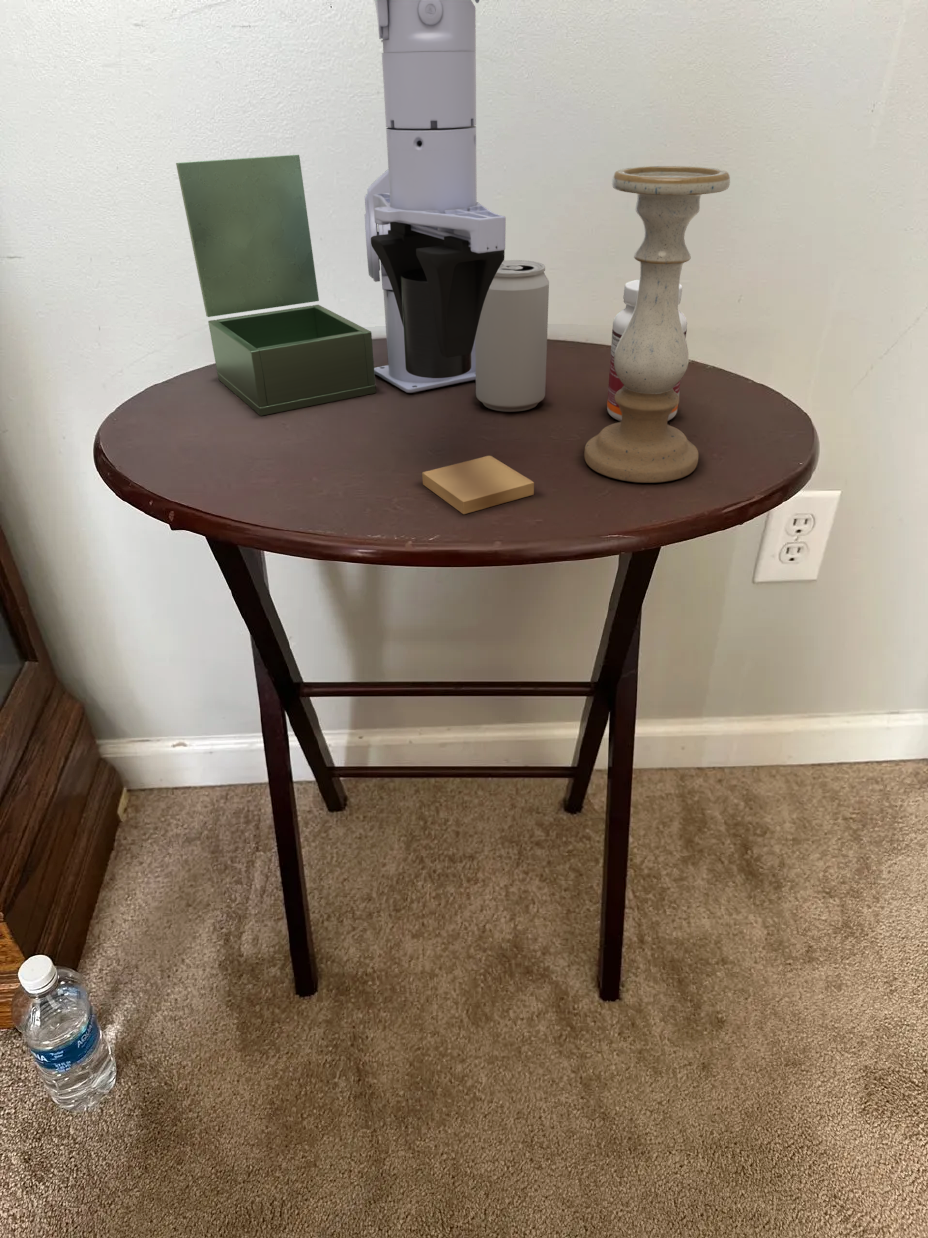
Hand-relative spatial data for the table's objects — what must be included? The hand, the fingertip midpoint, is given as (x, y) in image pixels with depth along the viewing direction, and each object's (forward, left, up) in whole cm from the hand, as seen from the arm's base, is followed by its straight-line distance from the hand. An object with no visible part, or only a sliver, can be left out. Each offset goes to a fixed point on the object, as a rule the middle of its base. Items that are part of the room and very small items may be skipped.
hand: (438, 345), depth 61 cm
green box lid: (+2, -32, +3) cm, 32 cm away
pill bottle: (-21, -1, -10) cm, 23 cm away
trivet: (0, +5, -10) cm, 11 cm away
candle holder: (-14, +7, -10) cm, 18 cm away
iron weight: (0, 0, -2) cm, 2 cm away
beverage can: (-13, -10, -10) cm, 19 cm away
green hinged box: (+2, -25, -10) cm, 27 cm away
